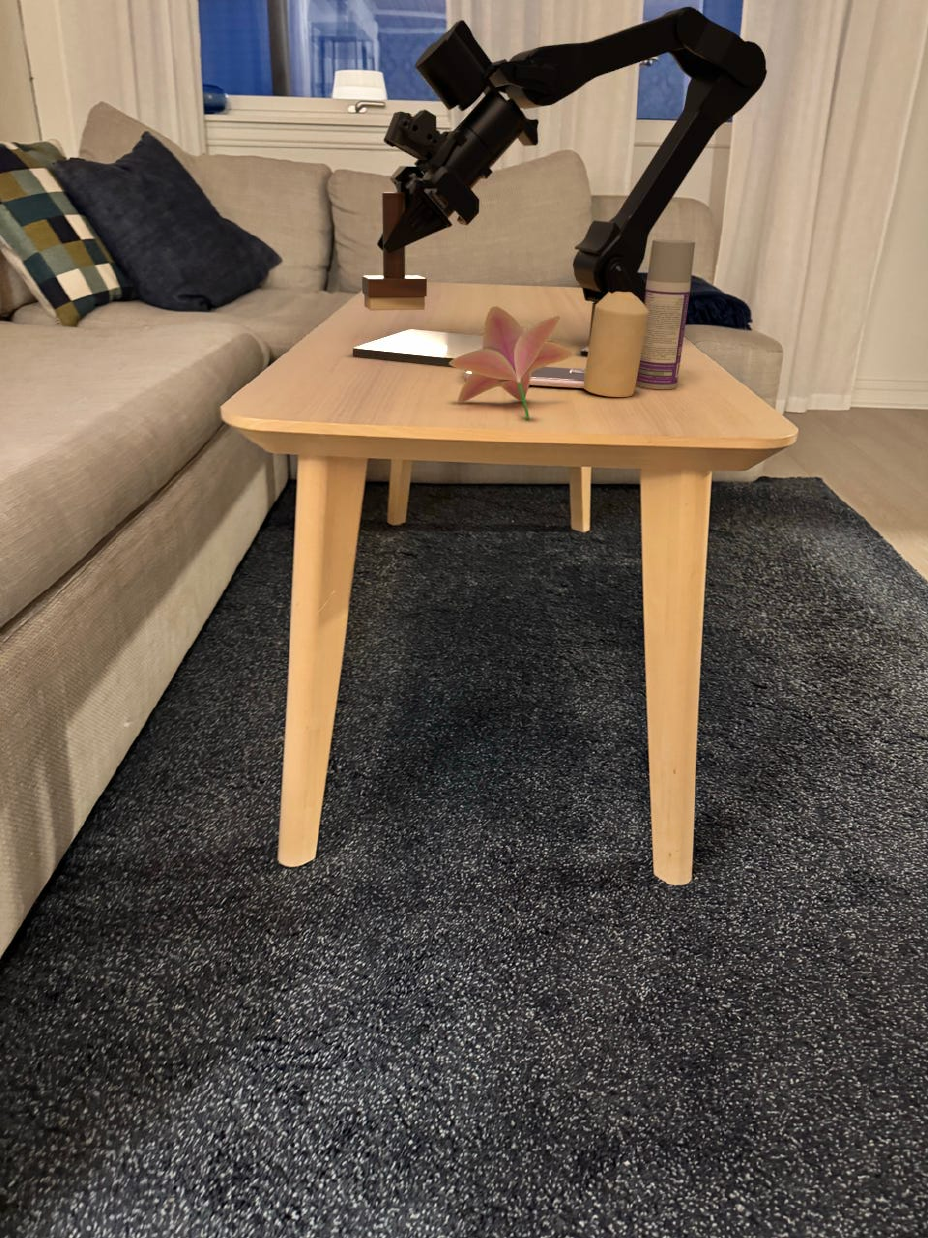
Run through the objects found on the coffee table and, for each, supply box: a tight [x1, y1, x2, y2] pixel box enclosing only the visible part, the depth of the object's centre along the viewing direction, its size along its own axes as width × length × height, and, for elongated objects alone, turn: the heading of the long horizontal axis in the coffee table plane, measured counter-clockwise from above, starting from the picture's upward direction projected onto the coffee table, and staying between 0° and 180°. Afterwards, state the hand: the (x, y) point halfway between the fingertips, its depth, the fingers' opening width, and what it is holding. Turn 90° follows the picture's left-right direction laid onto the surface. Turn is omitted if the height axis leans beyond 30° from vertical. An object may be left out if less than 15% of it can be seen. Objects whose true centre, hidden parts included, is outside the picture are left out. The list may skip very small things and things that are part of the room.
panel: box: [352, 328, 483, 368], centre depth 117 cm, size 18×15×1 cm
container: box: [636, 238, 696, 390], centre depth 99 cm, size 5×5×15 cm
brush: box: [361, 191, 428, 311], centre depth 105 cm, size 4×7×12 cm, turn 108°
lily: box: [449, 306, 574, 420], centre depth 86 cm, size 12×12×10 cm
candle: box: [583, 292, 649, 398], centre depth 95 cm, size 6×6×10 cm
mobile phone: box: [463, 366, 586, 389], centre depth 101 cm, size 8×1×15 cm
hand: (382, 248), depth 105 cm, fingers closed on brush, 2 cm apart
